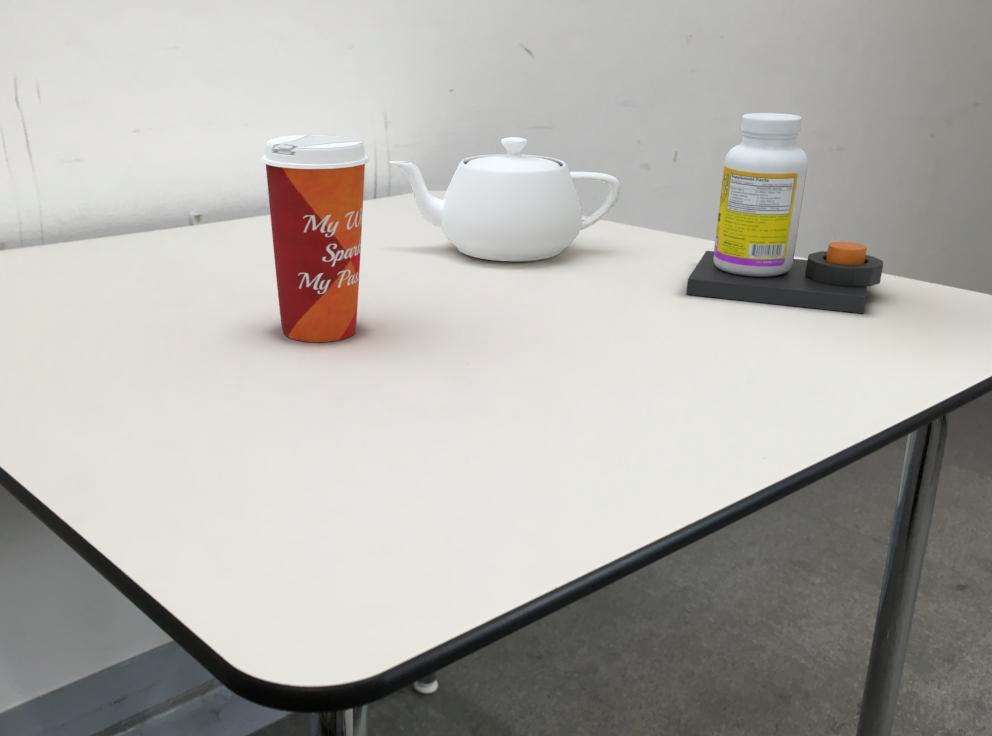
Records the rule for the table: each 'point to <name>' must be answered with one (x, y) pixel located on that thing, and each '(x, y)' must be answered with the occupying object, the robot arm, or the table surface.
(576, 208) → the teapot
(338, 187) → the paper cup
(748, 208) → the supplement bottle
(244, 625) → the table surface
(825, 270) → the scale
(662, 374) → the table surface
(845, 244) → the tare button
